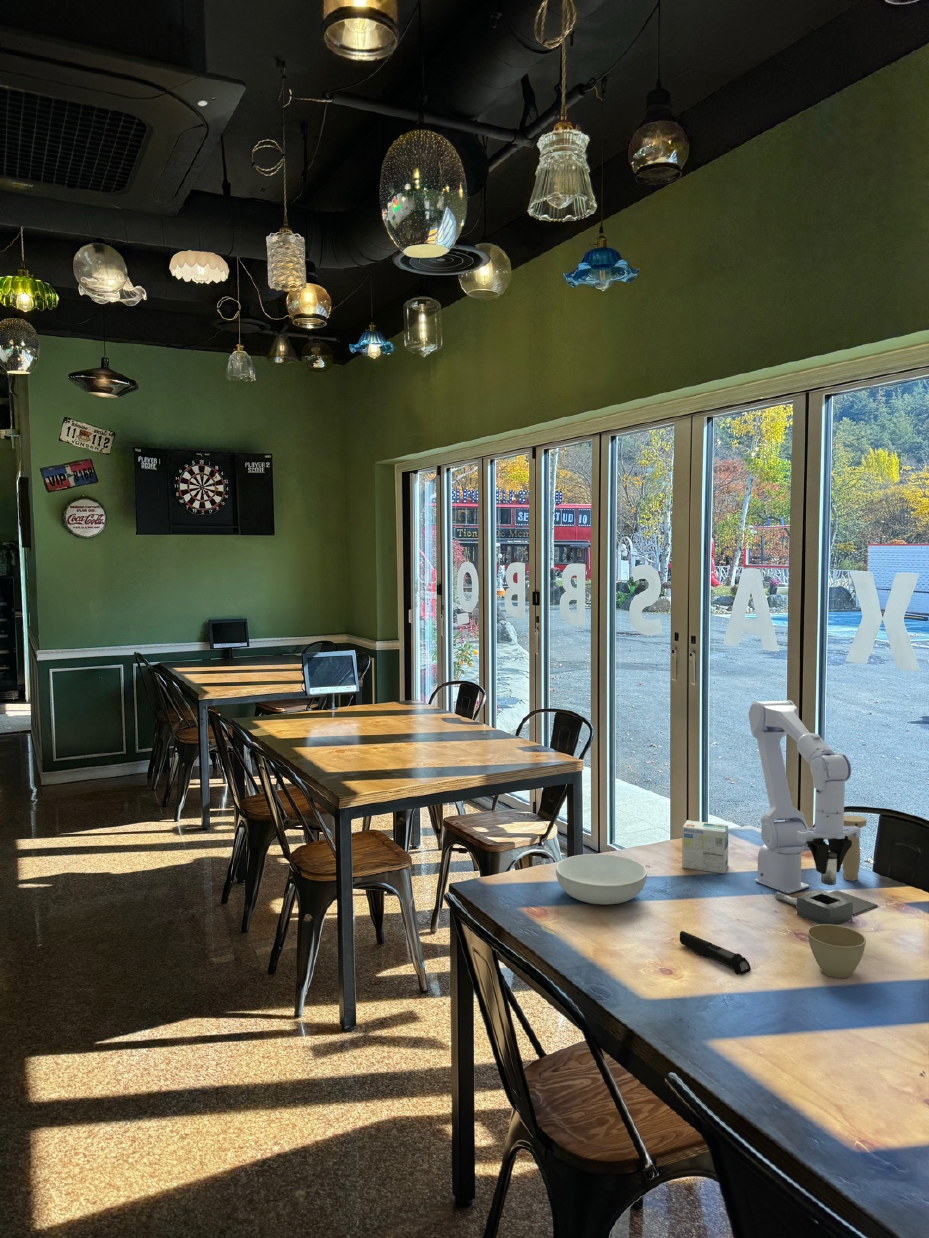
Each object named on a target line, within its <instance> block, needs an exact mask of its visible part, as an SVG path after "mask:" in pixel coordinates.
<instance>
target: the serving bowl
mask: <svg viewBox="0 0 929 1238" xmlns="http://www.w3.org/2000/svg"><path fill="white" fill-rule="evenodd" d="M555 875H556V878H557V879H556V880H557V882H558V884H559V885H560V887H561V888H562V890H563V891H564V892H566V894H567V895H569V897H572V898H573V899H576V900H578V901H581V902H584V903H588V904H592V905H593V904H594V905H615V904H621V903H625V902H627V901H631V900H632V899H634V898H635V897H636V896H638V895H639V894H640V893H641V892H642V890H643V889H644V887H645V885H646V882H647V876H648V871H647V868H646V867H645V865H643V864H642V863H640V862H639V861H637V860H634V859H632V858H629V857H625V856H621V855H615V854H608V853H607V854H606V853H605V854H604V853H585V854H578V855H573V856H569V857H568V856H567V857H565V858H564V859H561V860H560V861H558V862H557V863H556V865H555Z"/></svg>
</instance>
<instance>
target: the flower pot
mask: <svg viewBox="0 0 929 1238" xmlns="http://www.w3.org/2000/svg"><path fill="white" fill-rule="evenodd" d="M807 938H808V942H809V946H810V950H811V952H812V955H813V957H814V959H815V962H816V964H817V965H818V967H819V968H820V970H821V972H822V973H823V974H825V975H826V976H829V977H832V978H837V979H846V978H849V977H850V976H851V975H852V974H853V973H854V971H855V970H856V969H857V968H858V966H859V964H860V962H861V960H862V958H863V955H864V951H865V948H866V942H867V940H866V936H864V934H862V933H860V932H859V931H857V930H856V929H853V928H850V927H847V926H843V925H840V924H839V925H831V924H815V925H812V926H810V927H809V928H808V929H807Z"/></svg>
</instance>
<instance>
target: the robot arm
mask: <svg viewBox="0 0 929 1238" xmlns="http://www.w3.org/2000/svg"><path fill="white" fill-rule="evenodd" d="M748 720H749V724H750V730H751V734H752V737H753V738H755V739H756V742H757V747H758V752H759V757H760V762H761V768H762V771H763V772H762V773H763V778H764V779H763V780H764V784H765V789H766V794H767V798H768V804H769V809H768V810H767V811H766V812H765V813H764V814H763V815H762V817H761V818H760V822H761V831H760V833H761V834H760V836H761V840H762V842H763V845H761V847H760V848H759V849H758V853H757V854H758V855H757V878H755V880H754V881H755V882H756V883H759V884H761V885H764V886H766V887H769V888H772V889H774V890H777V891H778V892H781V893H782V892H783V893H784V894H786V895H787V894H792V893H796V892H798V891H801V890H804V889H807V888H809V887H810V885H809V884H808V883H805V882H802V859H803V858H802V855H803V854H802V852H804V851H806V850H805V848H806V847H808V848H809V850H810V852H811V855H812V857H813V862H814V865H815V869H816V872H818V873H820V875H821V874H825V872H826V862H827V855H828V852H829V849H833V850H836V851H837V852H838V853H837V872H836V873H840V871H841V867H842V862H843V859H844V857H845V855H846V853H847V851H848V850H849V848H850V847H851V846H852V841H851V840H849V839H848V837H859V838H861V828H858V827H856V826H844V815H845V788H846V787H845V786H846V785H845V784H846V783H845V782H847V781H848V780H849V779H850V778H851V775H852V765H851V762H850V760H849V759H848V757H847V756H846V754H844V753H838V752H834V750H833V749H831V747H830V746H829V745H828V744H827V743H826V742H825V741H824V739H822V737H821V735H819V734H818V733H815V732H810V731H809V729H807V727H806V726H805V725H804V722H803V721H802V720H801V719H800V718H799V710H798V706H796V705H795V703H794V702H793V701H792V700H791V699H788V700H775V701H774V700H773V701H771V700H770V701H758V700H757V701H752V704H751V705H750V707H749V711H748ZM787 735H788V736H790V737H791V738H792V740H794V741H795V742H796V743H797V744H796V750H797V752H798V753H799V755H801V756H802V758H803V759H804V760H805V762H806V763H808V765H809V766H810V767H809V769H810V773H811V777H812V786H813V788H814V789H815V802H814V806H815V807H814V808H815V809H814V826H813V827H810V828H809V825H808V824H807V821H806V818H805V814H804V813H803V812H801V811H800V810H798V809H797V808H796V807H795V806H793V800H792V796H791V792H790V791H791V790H790V787H789V782H788V777H787V776H788V775H787V772H786V766H785V762H784V757H783V751H782V747H781V739H782V738H784V737H786V736H787ZM825 840H827V843H826V841H825Z"/></svg>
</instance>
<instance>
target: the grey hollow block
mask: <svg viewBox="0 0 929 1238" xmlns="http://www.w3.org/2000/svg"><path fill="white" fill-rule="evenodd" d="M774 898H775V899H776V900H778V901H781V902H784V903H786V904H789V905H791V906H793V907H796V915H797V916H798V917H801V918H802V919H806V920H808V921H811V922H813V923H815V924H817V925H820V924H831V925H839V926H840V925H842V924H844V923H846V922H847V923H848V922H849V920H850V921H852V920H853V901H851V900H848V899H845V898H842V897H840V896H837V895H834V894H831V893H830V892H829V891H825V890H822V889H817V890H813V891H811V892H807V893H805V894H801V895H799V896H796V898H795V897H793V896H791V895H787V894H786V893H784V892H783V893H782V892H781V891H776V893H775V895H774Z"/></svg>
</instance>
